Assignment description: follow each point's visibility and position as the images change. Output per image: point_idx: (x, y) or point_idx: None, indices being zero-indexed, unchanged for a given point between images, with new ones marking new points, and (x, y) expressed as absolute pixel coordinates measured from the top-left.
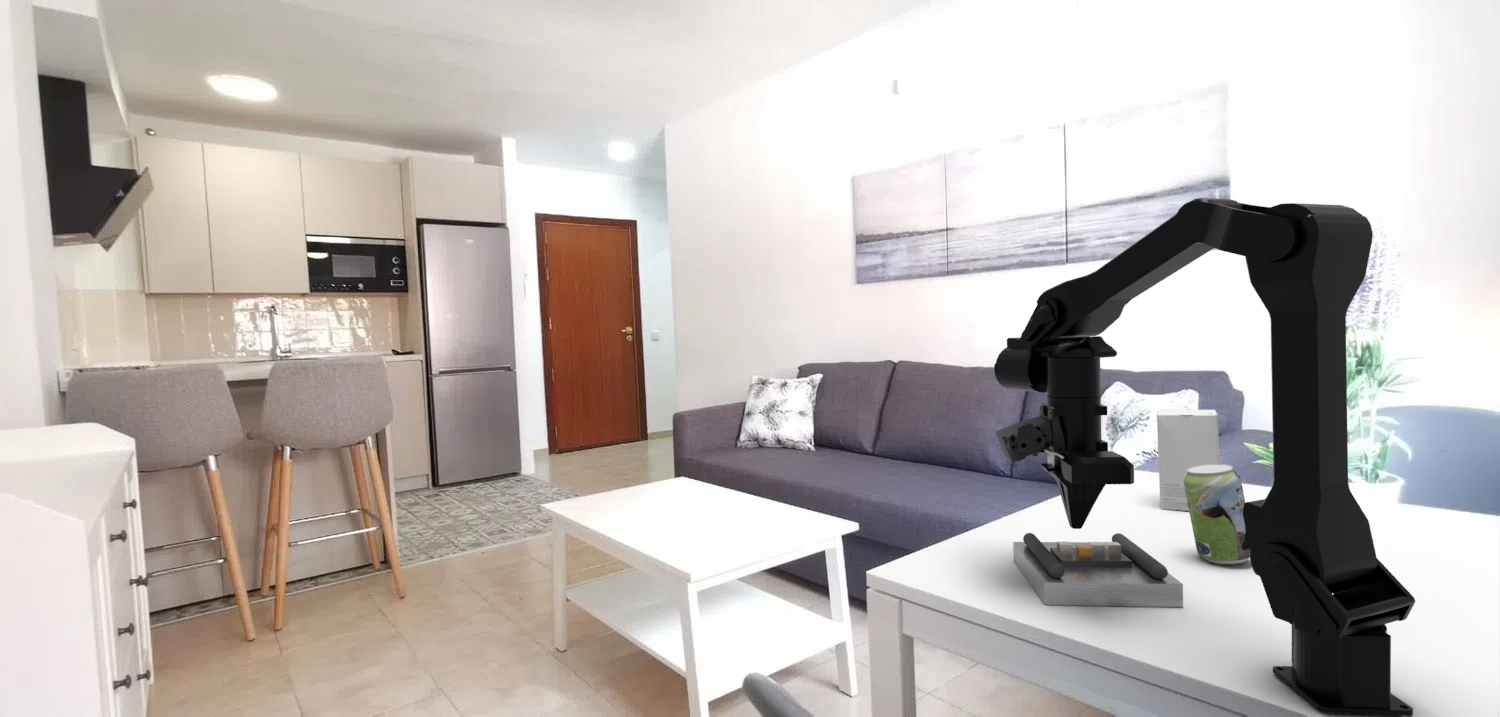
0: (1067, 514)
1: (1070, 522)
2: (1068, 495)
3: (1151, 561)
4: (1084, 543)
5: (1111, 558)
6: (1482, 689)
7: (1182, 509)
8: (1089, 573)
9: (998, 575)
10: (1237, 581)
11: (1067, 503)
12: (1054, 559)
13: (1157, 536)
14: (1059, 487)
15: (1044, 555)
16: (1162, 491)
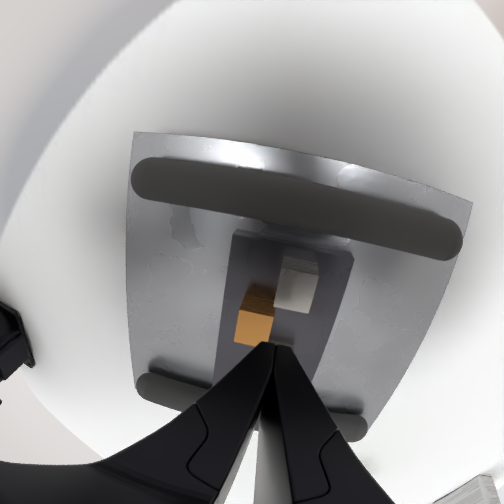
0: (282, 371)
1: (262, 351)
2: (155, 434)
3: (165, 398)
4: (397, 371)
5: (233, 362)
6: (47, 409)
7: (461, 487)
8: (184, 274)
9: (360, 100)
10: (246, 460)
11: (225, 404)
12: (175, 190)
13: (425, 461)
14: (344, 479)
15: (226, 178)
16: (482, 491)
